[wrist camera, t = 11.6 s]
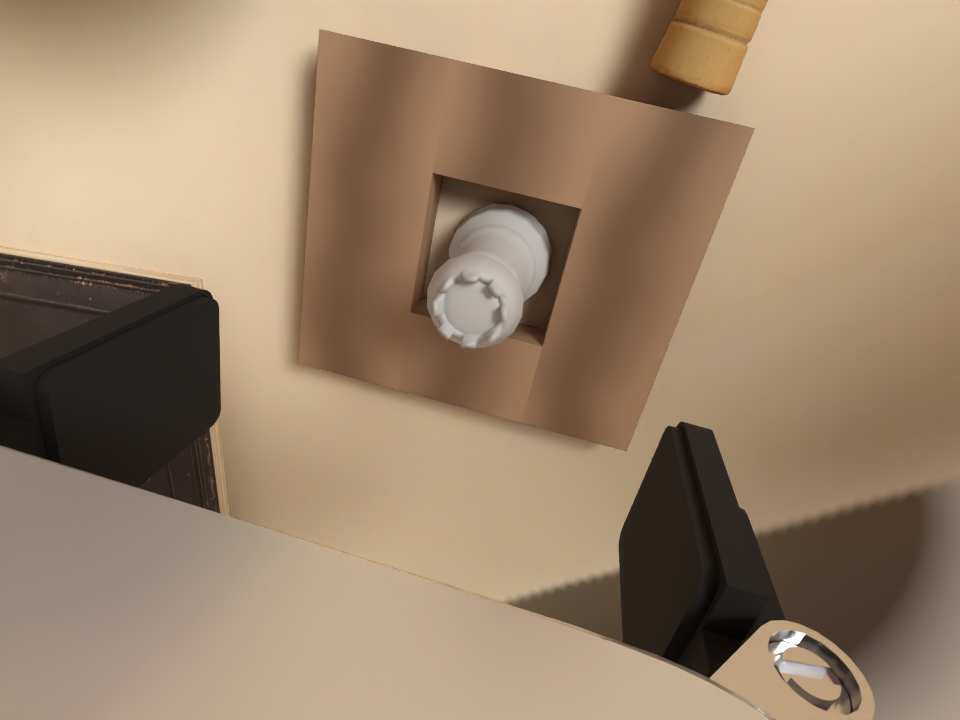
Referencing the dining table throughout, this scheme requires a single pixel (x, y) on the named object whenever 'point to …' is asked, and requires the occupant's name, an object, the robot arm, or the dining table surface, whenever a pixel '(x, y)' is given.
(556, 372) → the board
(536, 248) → the rook chess piece
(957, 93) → the dining table surface
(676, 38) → the kendama
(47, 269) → the hardcover book
